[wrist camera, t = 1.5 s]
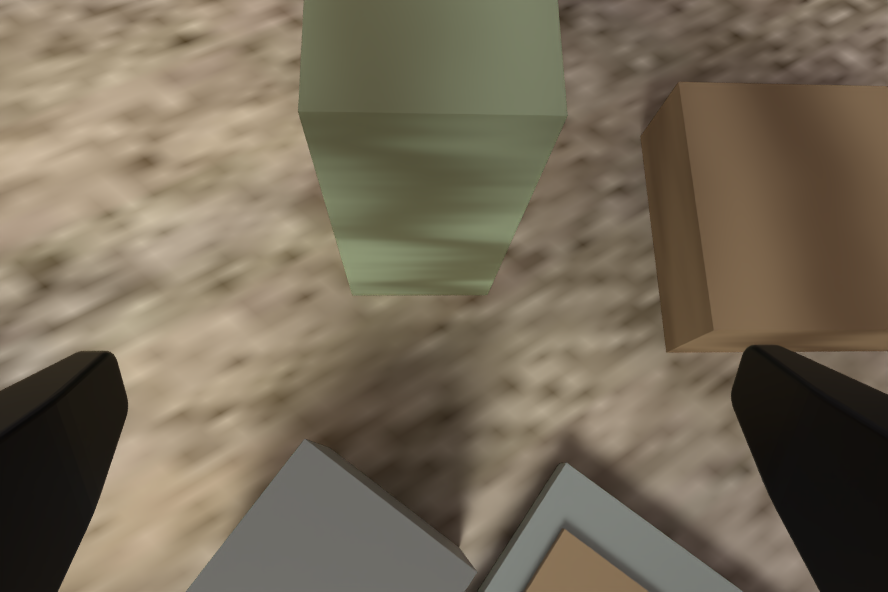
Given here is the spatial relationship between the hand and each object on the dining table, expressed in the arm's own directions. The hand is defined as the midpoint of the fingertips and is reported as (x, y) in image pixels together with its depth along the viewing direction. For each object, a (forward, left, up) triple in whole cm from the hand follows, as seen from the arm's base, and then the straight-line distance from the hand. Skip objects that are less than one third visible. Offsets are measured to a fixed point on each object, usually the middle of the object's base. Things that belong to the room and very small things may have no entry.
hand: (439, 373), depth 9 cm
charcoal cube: (-1, +5, -13) cm, 14 cm away
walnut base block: (-7, -14, -14) cm, 21 cm away
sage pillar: (+4, -6, -13) cm, 15 cm away
